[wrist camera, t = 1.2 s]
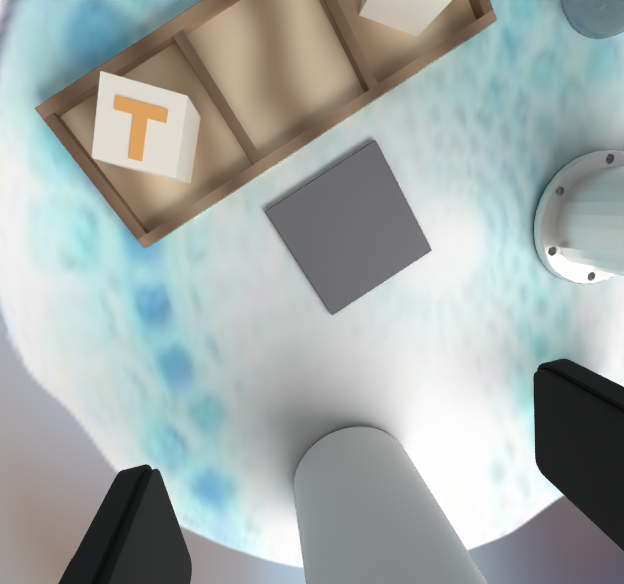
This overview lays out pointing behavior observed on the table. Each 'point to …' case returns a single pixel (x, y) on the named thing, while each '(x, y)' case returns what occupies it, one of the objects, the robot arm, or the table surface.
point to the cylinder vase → (373, 516)
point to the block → (403, 13)
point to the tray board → (250, 92)
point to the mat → (350, 228)
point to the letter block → (145, 128)
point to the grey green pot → (595, 17)
